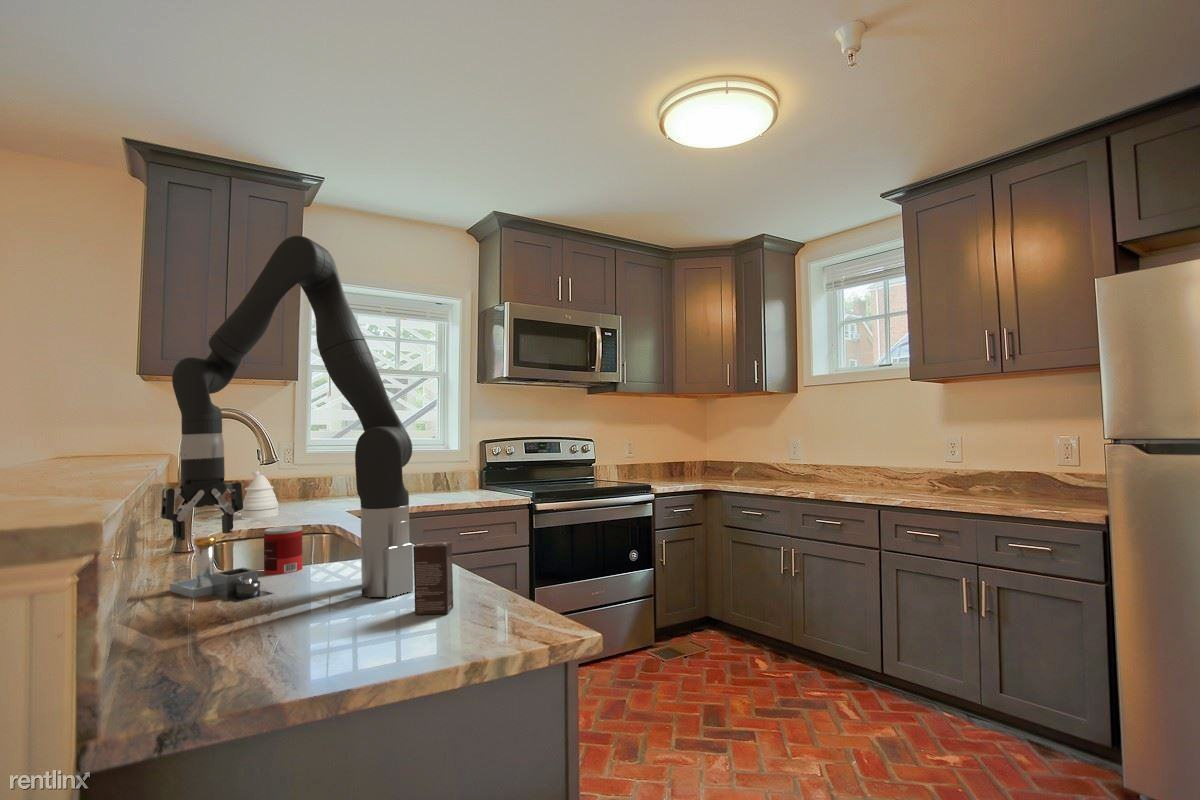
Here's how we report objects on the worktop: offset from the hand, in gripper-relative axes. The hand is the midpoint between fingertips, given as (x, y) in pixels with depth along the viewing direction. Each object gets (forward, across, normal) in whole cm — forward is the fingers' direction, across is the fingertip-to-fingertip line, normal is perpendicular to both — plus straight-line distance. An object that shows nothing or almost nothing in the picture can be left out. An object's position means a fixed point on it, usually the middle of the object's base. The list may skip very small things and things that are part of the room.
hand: (204, 536), depth 127 cm
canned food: (+12, +17, +2) cm, 21 cm away
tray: (+12, 0, 0) cm, 12 cm away
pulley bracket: (+12, +2, -11) cm, 16 cm away
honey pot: (+11, +68, +113) cm, 133 cm away
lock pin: (+12, 0, 0) cm, 12 cm away
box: (+13, +16, -50) cm, 54 cm away
